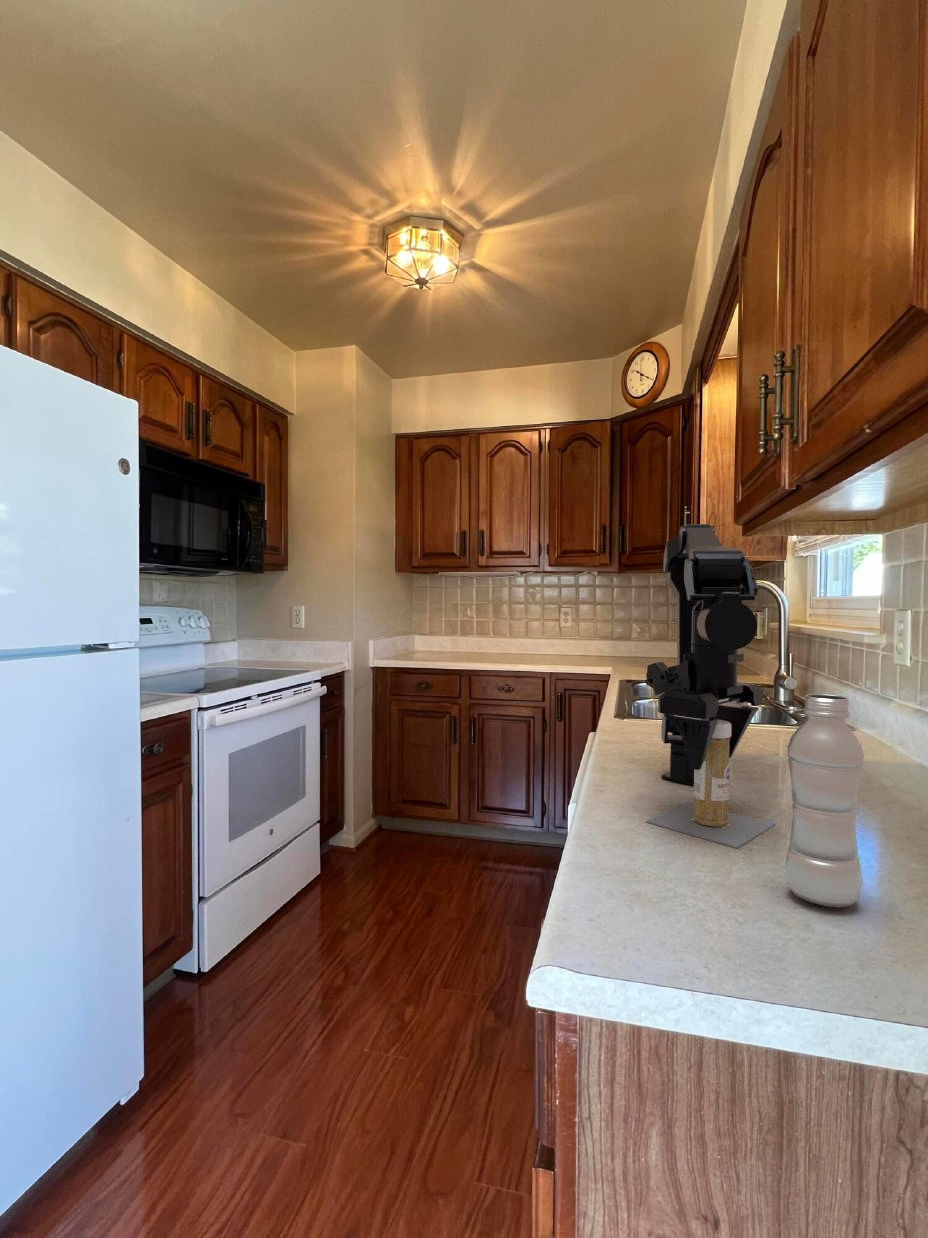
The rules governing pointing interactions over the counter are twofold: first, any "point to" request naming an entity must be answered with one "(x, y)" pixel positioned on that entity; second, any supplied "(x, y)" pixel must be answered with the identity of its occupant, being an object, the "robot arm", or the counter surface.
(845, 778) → the plastic bottle
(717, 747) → the sprinkles bottle
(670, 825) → the mat
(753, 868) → the counter surface
